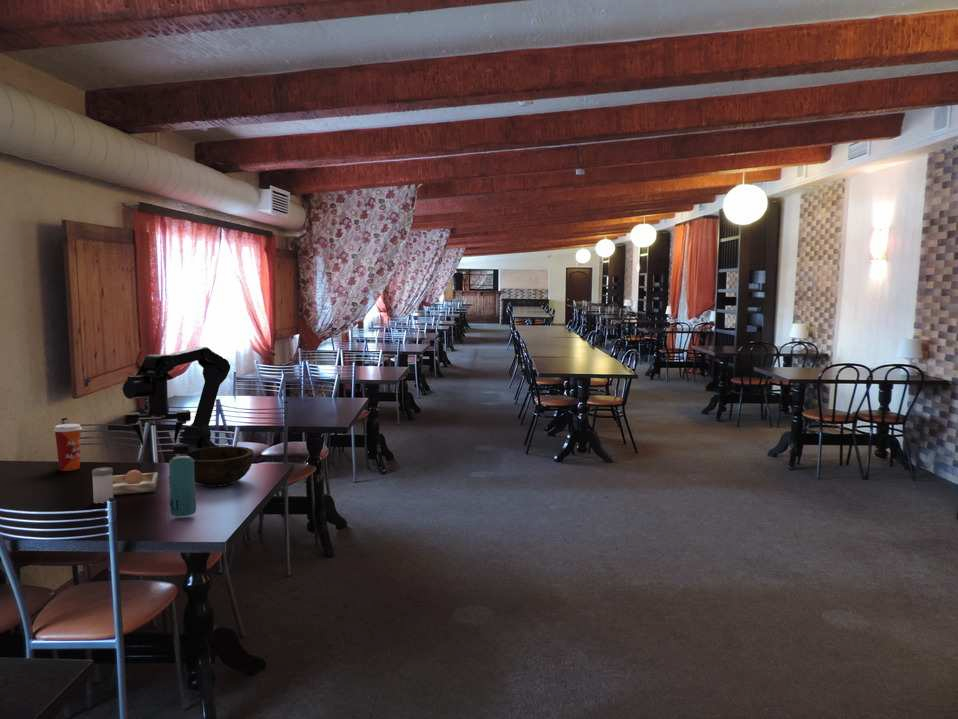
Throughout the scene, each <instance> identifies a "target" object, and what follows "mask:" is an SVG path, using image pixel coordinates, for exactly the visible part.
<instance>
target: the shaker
mask: <svg viewBox="0 0 958 719" xmlns="http://www.w3.org/2000/svg"><path fill="white" fill-rule="evenodd" d="M113 470H114V469H113V467H107V466H106V467H99V468H98V467H97V468H94V469H92V471H91V475H92V493H93V495H92V498H93V503H94V504H98V503H101V504H105V503H104V502H106V501H107V500H108V499H109V498H113V499H114V495H113V478H112V476H113Z"/></svg>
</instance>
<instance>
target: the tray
mask: <svg viewBox="0 0 958 719" xmlns="http://www.w3.org/2000/svg"><path fill="white" fill-rule="evenodd" d="M158 474H159V473H158V472H145V473H142V476H143V478H142V481H141V482H140V483H139V484H127V482H126V480H125V476H126V474H120V475H119V474H117V475H112V478H113V496H115V495H116V496H117V495H126V494H127V495H128V494H138V493H149V492H150V493H152V492H156V489H157V484H158V481H159V475H158Z"/></svg>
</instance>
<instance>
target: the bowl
mask: <svg viewBox="0 0 958 719" xmlns="http://www.w3.org/2000/svg"><path fill="white" fill-rule="evenodd" d="M254 453H255V452H254V450H253V449H252V448H249V447H245V446H237V445H236V446H231V445H222V446H219V445H218V446H217V447H207V448H200V449H194V450H190V452H189V453H186V454H179V456H190V457H191V458H192V459H193V460H194V476H195V484H197V485H201V486H203V487H223V486H229V485H231V484H234V483H236V482H237V481H239V480H241V479H242V478H243V477H244V476H246V475H247V473H248V472H249V471H250V469H251V466H252V464H253V461H254V455H255V454H254Z"/></svg>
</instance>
